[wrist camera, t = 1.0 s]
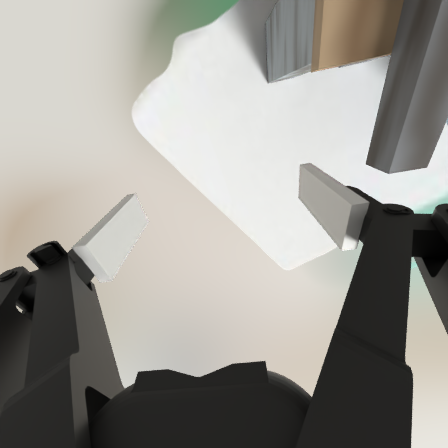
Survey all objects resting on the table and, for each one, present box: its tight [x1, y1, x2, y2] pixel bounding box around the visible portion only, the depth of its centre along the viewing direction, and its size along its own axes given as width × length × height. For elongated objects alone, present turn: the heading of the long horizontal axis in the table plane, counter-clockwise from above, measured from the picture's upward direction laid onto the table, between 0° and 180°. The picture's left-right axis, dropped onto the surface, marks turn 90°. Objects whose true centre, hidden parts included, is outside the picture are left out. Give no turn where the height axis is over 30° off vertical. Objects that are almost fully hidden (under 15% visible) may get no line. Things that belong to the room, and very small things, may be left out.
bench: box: [265, 0, 404, 83], centre depth 27 cm, size 24×12×30 cm, turn 100°
